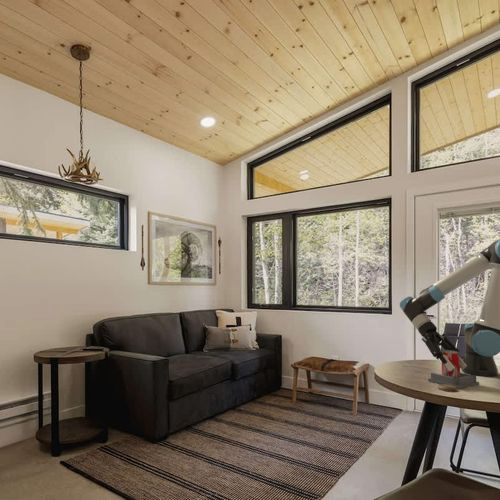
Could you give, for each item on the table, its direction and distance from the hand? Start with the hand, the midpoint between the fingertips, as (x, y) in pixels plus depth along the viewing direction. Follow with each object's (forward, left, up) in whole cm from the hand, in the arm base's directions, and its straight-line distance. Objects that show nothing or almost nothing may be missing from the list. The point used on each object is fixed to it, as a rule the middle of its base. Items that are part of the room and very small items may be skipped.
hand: (458, 368), depth 168 cm
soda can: (0, -3, -6) cm, 7 cm away
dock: (0, -2, -7) cm, 7 cm away
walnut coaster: (+11, +3, -7) cm, 13 cm away
